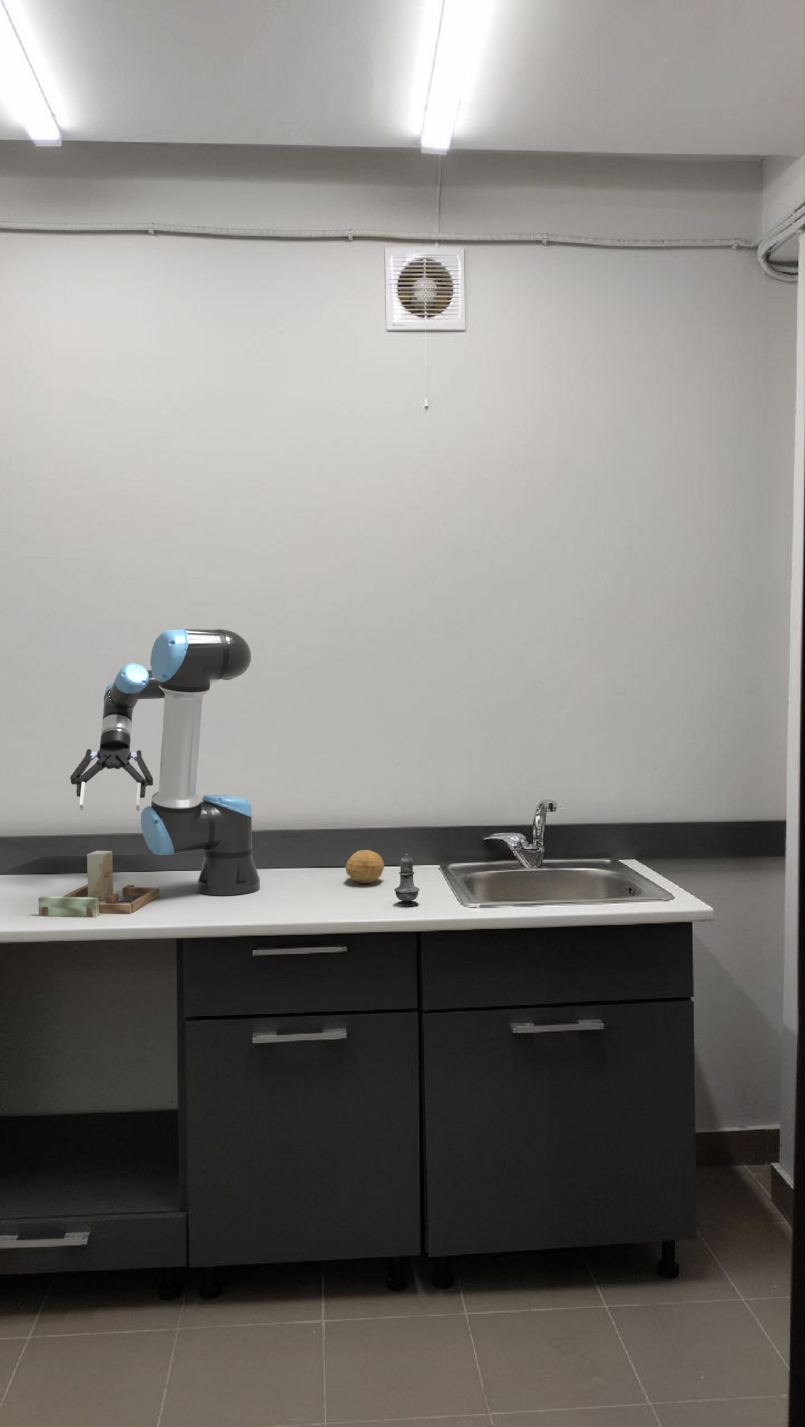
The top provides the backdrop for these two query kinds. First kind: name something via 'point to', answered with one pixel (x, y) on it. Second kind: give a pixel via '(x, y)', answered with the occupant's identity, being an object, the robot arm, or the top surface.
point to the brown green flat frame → (96, 902)
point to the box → (100, 874)
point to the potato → (365, 866)
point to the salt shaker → (406, 884)
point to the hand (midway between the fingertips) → (109, 807)
